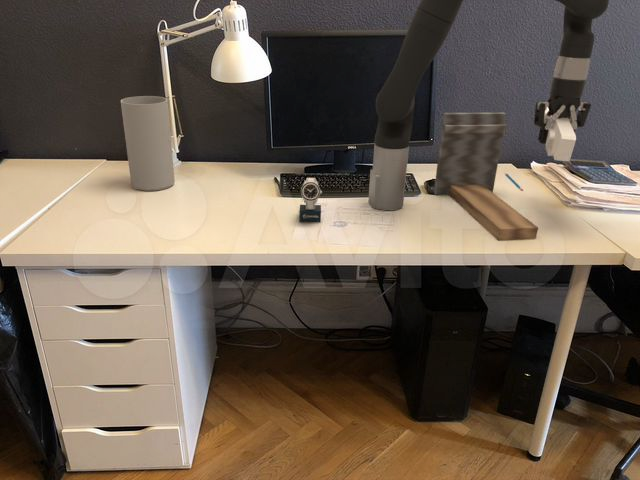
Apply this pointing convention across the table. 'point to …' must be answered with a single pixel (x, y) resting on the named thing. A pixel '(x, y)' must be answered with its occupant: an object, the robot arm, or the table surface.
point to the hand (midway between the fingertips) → (554, 142)
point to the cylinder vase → (148, 142)
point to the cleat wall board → (477, 172)
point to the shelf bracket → (560, 139)
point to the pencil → (514, 182)
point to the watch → (310, 202)
